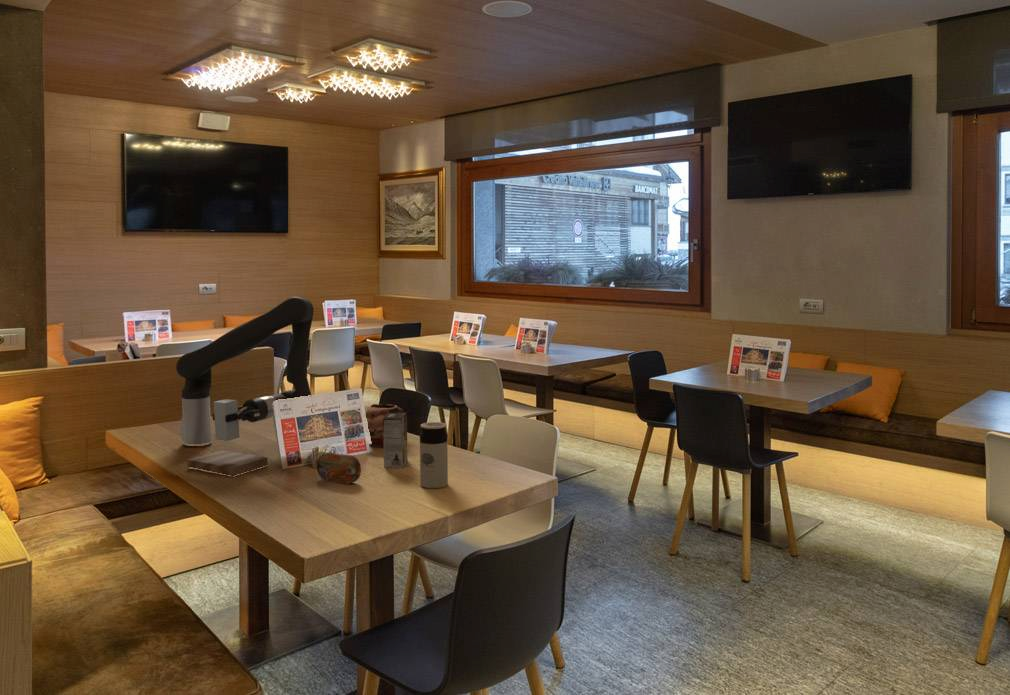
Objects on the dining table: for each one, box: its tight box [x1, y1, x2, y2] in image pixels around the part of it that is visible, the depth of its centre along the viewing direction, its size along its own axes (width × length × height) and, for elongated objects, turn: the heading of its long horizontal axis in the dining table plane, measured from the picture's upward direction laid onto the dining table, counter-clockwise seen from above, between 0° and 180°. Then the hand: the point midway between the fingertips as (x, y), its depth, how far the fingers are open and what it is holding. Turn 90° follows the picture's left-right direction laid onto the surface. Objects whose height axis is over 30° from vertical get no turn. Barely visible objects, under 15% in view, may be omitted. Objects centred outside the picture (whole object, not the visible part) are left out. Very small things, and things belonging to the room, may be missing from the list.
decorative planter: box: [365, 403, 405, 448], centre depth 277 cm, size 20×12×14 cm, turn 152°
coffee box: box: [383, 412, 408, 469], centre depth 249 cm, size 9×6×16 cm
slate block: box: [213, 398, 240, 442], centre depth 243 cm, size 5×5×12 cm
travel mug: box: [419, 421, 449, 490], centre depth 225 cm, size 8×8×18 cm
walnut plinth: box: [187, 450, 269, 476], centre depth 245 cm, size 20×14×3 cm
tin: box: [316, 452, 362, 485], centre depth 229 cm, size 15×3×8 cm, turn 62°
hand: (219, 418), depth 241 cm, fingers closed on slate block, 5 cm apart
